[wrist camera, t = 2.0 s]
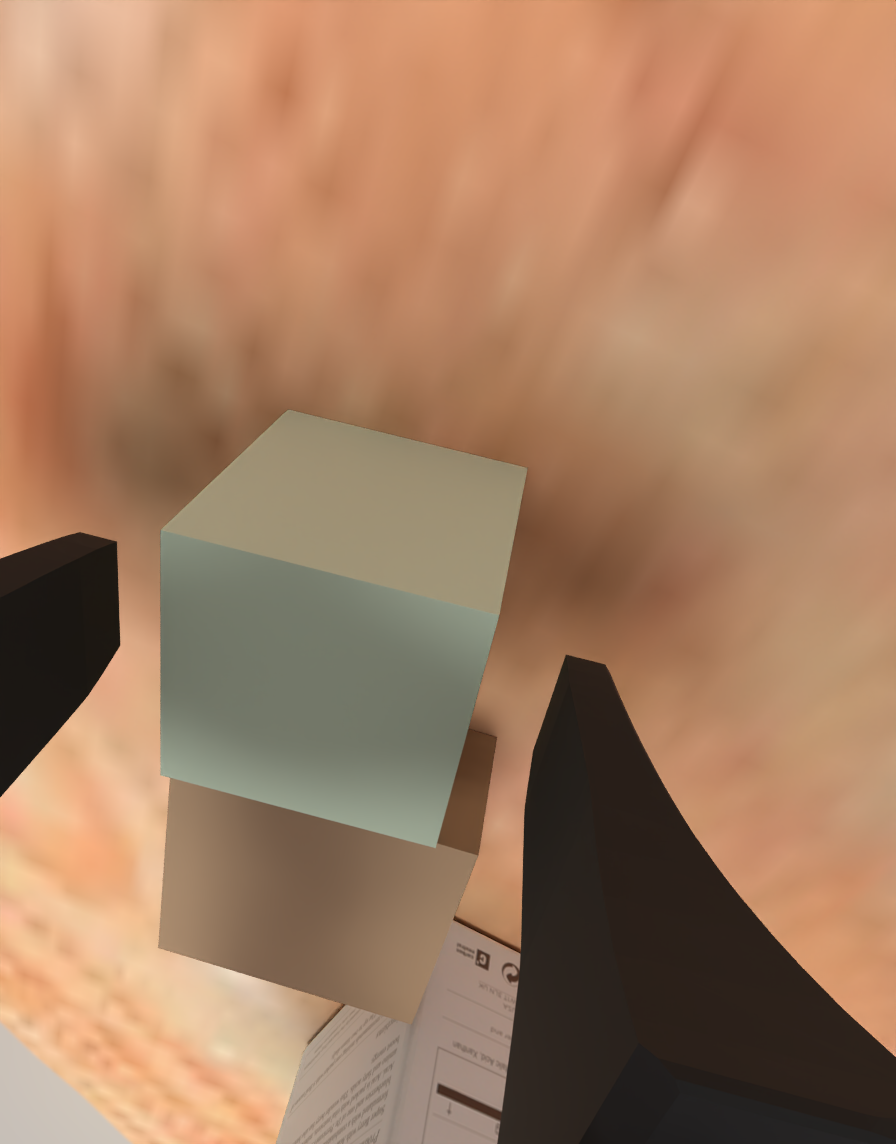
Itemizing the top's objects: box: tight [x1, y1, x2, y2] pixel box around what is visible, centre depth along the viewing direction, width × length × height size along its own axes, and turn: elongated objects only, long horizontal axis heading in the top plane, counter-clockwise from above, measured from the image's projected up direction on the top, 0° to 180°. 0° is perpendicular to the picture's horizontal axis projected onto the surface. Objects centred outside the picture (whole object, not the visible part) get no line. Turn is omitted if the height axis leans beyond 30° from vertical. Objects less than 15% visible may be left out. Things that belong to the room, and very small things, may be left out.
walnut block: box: [158, 729, 497, 1025], centre depth 18 cm, size 6×6×4 cm
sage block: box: [160, 409, 528, 848], centre depth 13 cm, size 4×4×5 cm
